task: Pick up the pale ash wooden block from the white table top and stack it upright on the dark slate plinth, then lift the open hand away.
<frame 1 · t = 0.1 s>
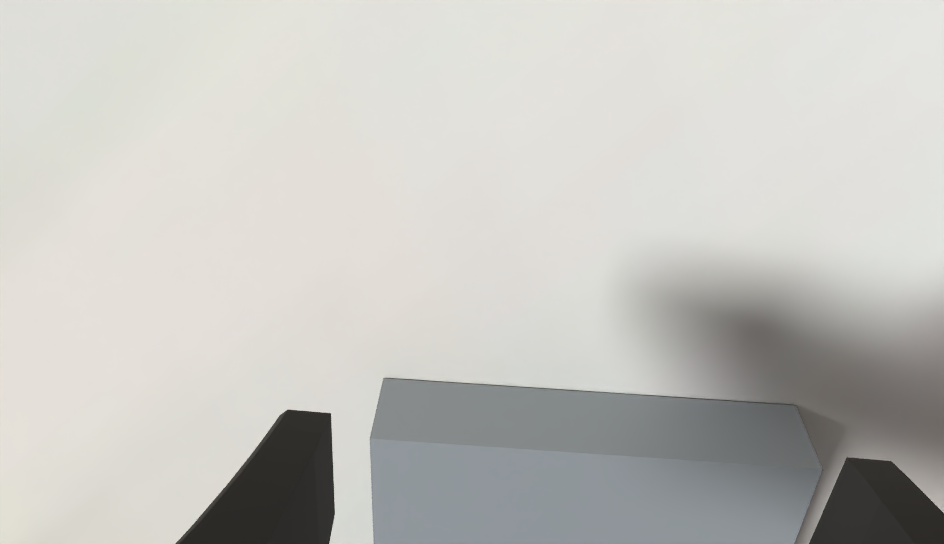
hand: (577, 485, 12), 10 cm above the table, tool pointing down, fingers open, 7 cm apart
slate plinth: (567, 529, 27), on the table
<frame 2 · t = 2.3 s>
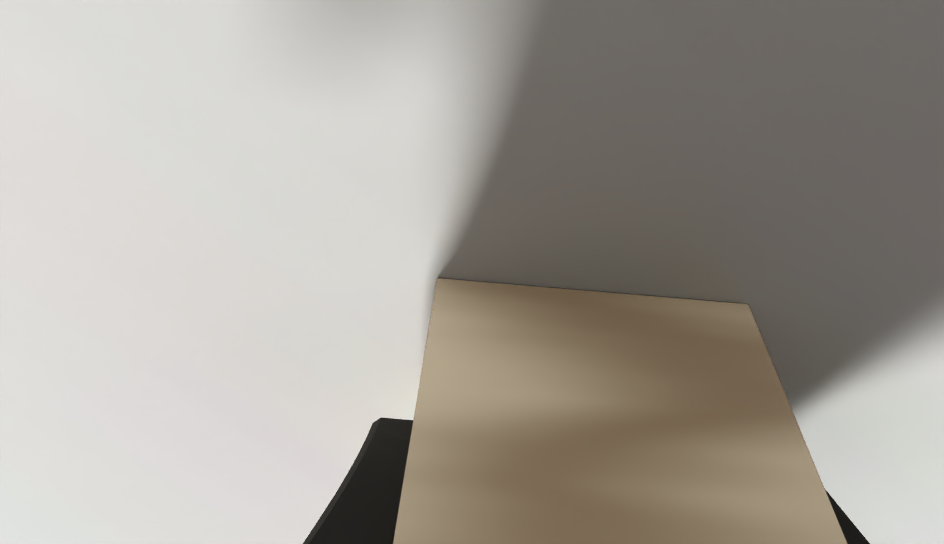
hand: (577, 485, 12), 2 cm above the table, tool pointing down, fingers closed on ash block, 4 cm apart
ash block: (571, 408, 13), on the table, touching gripper
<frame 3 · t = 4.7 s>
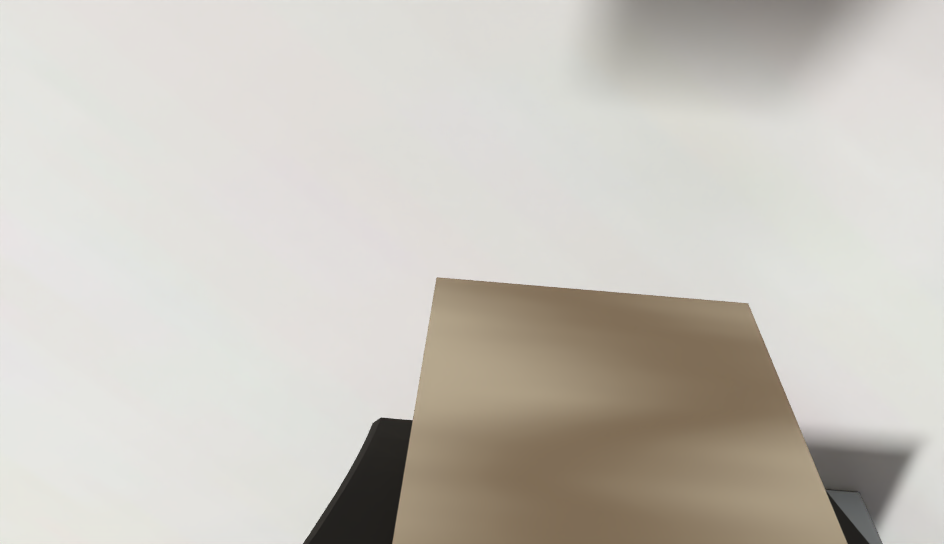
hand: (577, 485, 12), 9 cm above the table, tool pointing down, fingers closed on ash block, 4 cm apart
ash block: (571, 407, 13), point 7 cm above the table, touching gripper
when the fingers open (5 cm above the table, at t = 7.1 s): ash block drops 1 cm, resting on slate plinth.
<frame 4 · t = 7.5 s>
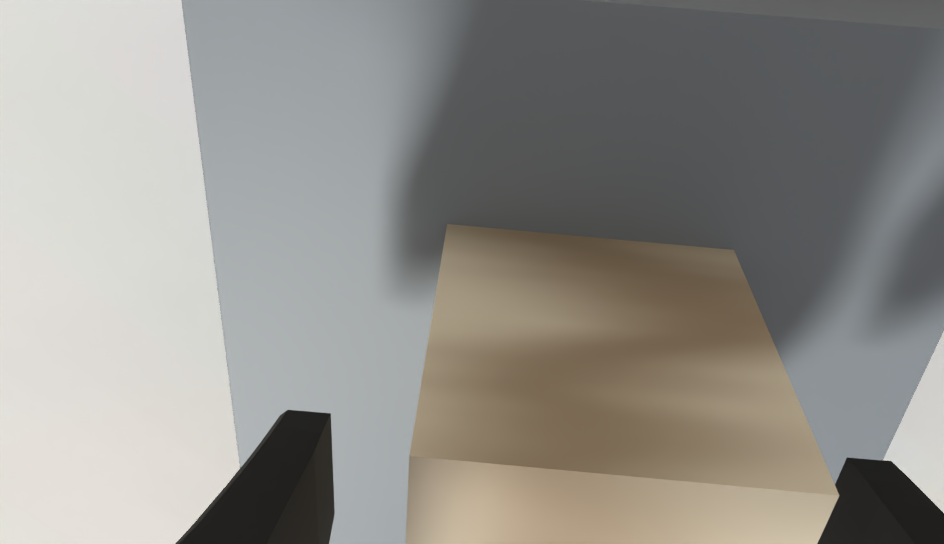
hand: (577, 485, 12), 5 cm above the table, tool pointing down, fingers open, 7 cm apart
ash block: (570, 350, 14), point 2 cm above the table, touching slate plinth
slate plinth: (562, 279, 16), on the table
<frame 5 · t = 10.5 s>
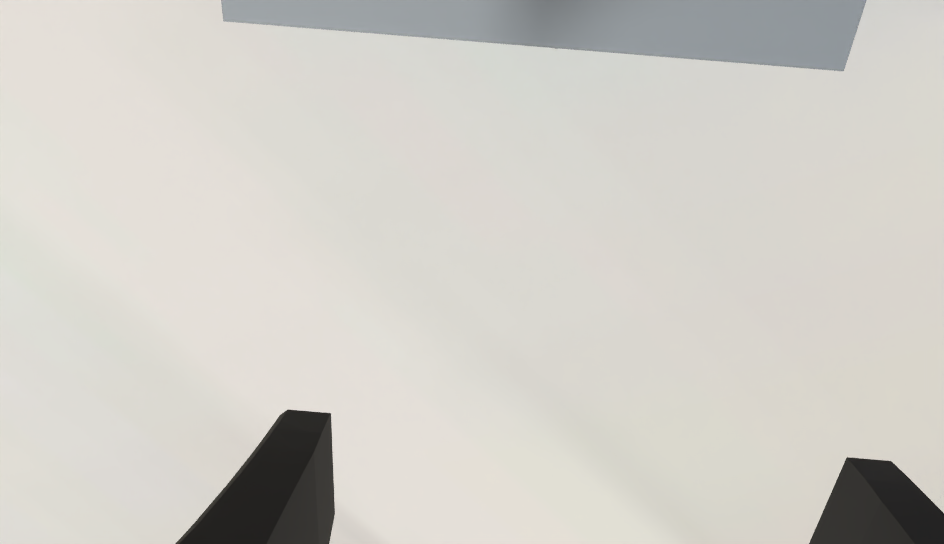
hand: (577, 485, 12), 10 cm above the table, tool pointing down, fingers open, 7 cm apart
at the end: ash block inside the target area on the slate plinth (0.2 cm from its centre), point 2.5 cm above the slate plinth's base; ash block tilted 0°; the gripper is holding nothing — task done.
